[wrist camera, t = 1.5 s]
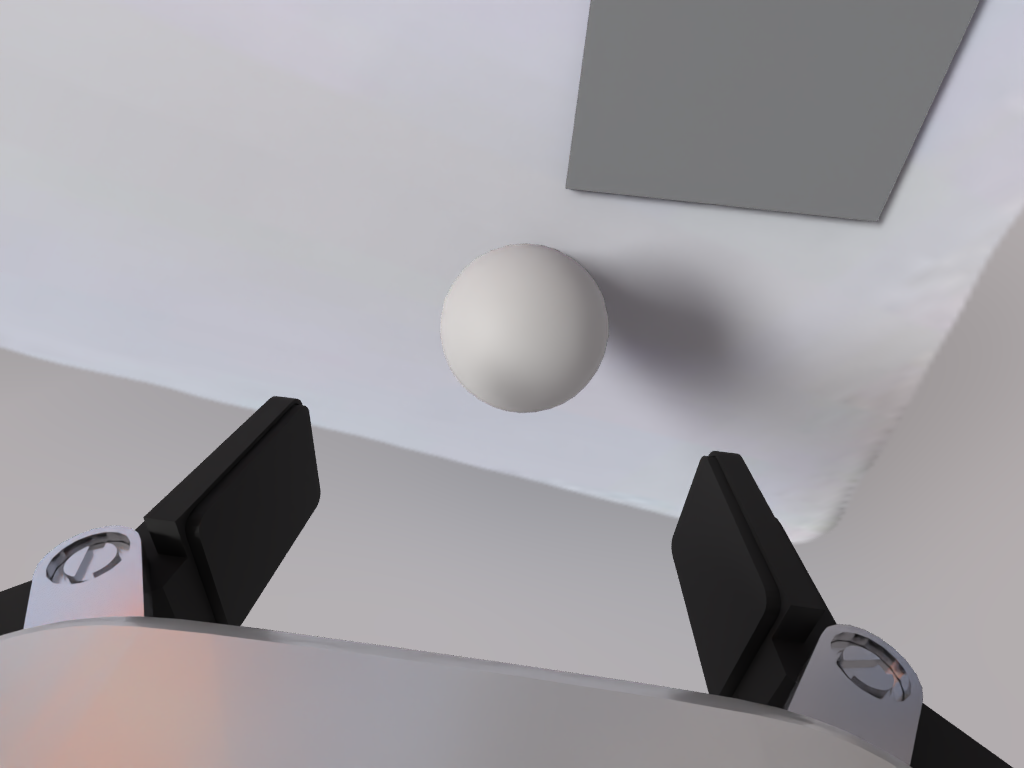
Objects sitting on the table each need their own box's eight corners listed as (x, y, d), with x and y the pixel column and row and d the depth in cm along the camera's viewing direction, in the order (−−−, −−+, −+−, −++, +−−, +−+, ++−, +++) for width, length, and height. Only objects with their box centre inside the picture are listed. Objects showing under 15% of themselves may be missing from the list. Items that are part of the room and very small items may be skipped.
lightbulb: (610, 300, 25) (640, 419, 15) (504, 338, 26) (471, 465, 17) (571, 184, 22) (578, 239, 13) (456, 233, 24) (385, 316, 14)
